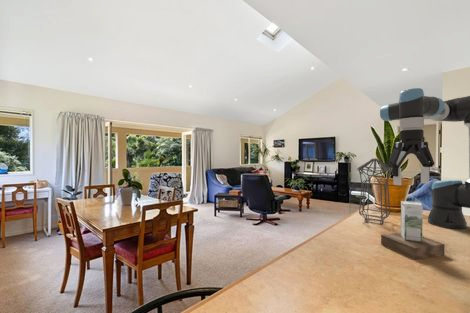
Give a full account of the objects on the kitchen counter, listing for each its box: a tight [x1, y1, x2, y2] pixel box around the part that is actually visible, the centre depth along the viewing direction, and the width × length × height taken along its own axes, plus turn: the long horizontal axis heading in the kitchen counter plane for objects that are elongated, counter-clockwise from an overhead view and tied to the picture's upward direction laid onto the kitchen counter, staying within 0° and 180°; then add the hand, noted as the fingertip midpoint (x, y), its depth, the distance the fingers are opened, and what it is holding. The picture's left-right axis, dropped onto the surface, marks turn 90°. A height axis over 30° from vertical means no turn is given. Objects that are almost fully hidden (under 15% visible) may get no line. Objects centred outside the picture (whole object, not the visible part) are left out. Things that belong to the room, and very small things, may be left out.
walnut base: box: [380, 232, 445, 260], centre depth 91 cm, size 14×14×4 cm
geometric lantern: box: [356, 157, 392, 225], centre depth 127 cm, size 16×16×35 cm
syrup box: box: [400, 200, 424, 242], centre depth 91 cm, size 6×6×14 cm
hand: (411, 184), depth 90 cm, fingers open, 13 cm apart
